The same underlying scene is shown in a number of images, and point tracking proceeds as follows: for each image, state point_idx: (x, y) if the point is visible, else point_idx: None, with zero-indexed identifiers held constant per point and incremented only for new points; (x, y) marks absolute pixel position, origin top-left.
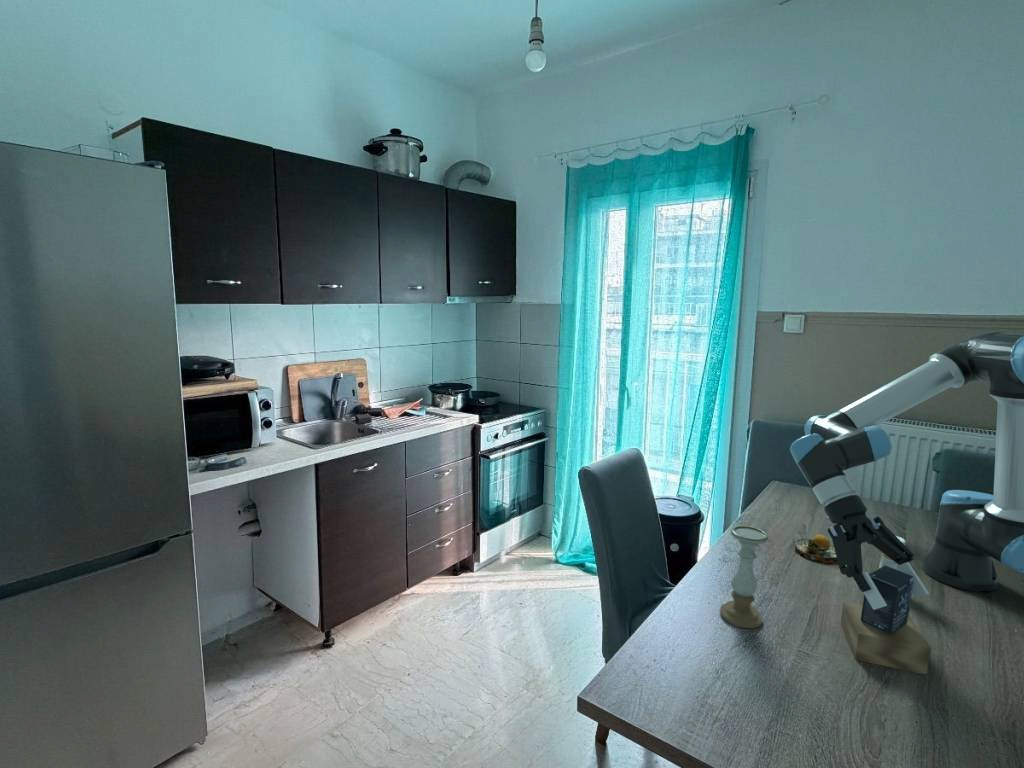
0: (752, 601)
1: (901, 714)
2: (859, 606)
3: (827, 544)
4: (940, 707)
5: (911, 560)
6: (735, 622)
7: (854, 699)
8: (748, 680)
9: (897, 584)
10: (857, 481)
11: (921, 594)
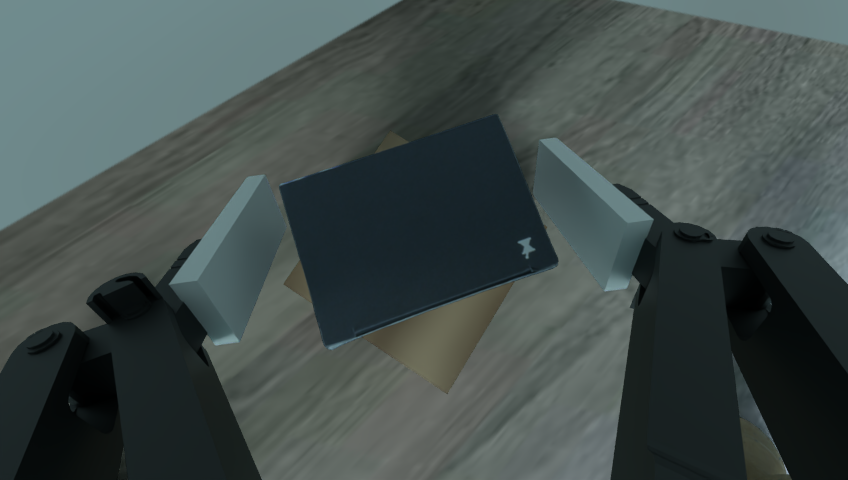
0: (772, 476)
1: (564, 84)
2: (413, 355)
3: None
4: (466, 81)
5: (141, 278)
6: (767, 437)
7: (627, 135)
8: (829, 231)
9: (475, 130)
10: None
11: (272, 199)
